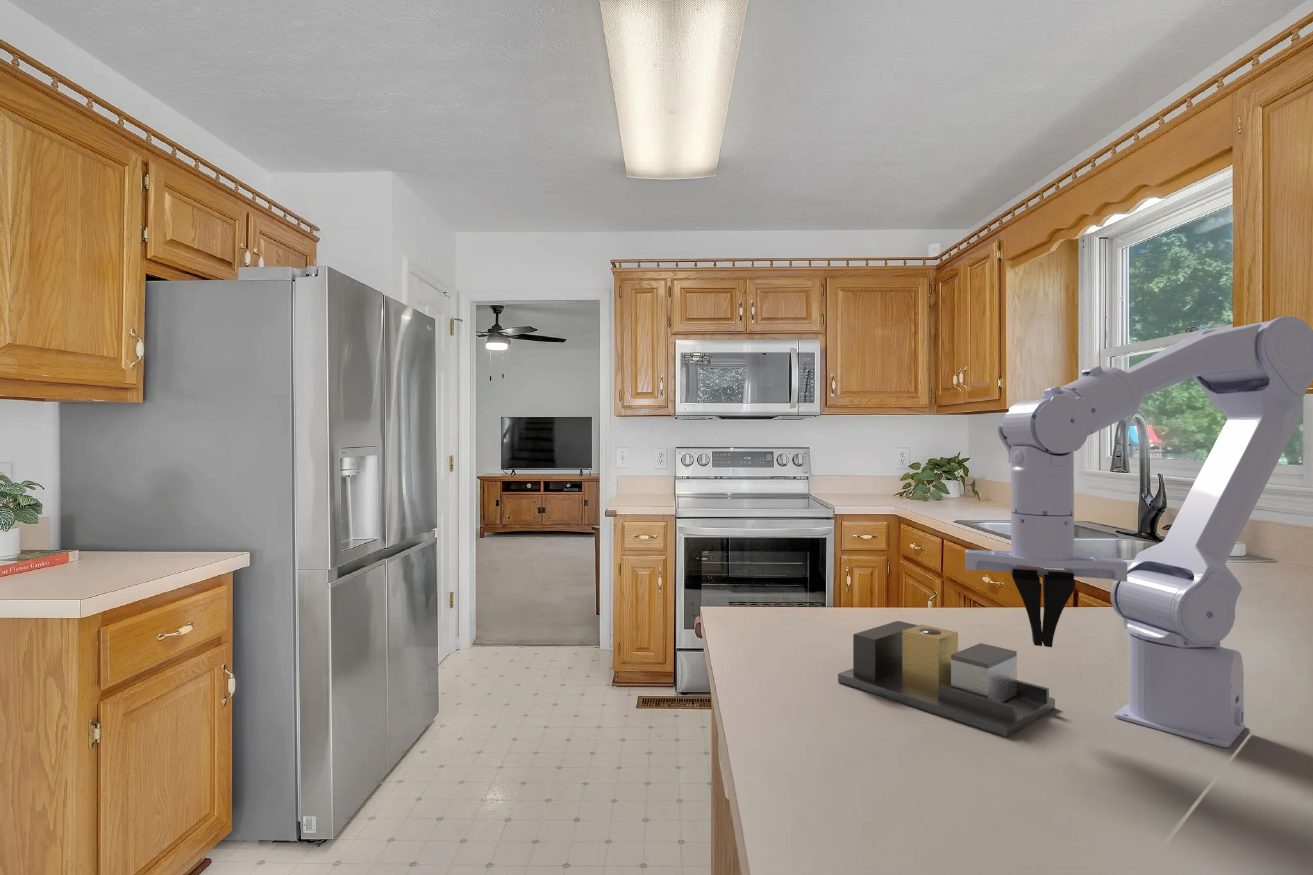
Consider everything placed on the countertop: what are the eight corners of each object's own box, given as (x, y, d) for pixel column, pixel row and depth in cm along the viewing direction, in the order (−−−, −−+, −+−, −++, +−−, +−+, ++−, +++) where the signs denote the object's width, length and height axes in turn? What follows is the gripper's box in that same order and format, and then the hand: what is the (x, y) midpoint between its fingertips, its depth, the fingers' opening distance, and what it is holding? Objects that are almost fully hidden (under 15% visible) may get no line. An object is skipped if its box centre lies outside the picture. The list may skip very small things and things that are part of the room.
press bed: (1054, 707, 74) (1054, 653, 74) (1007, 737, 67) (1006, 676, 67) (891, 661, 90) (891, 617, 90) (838, 681, 82) (838, 632, 82)
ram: (1016, 694, 75) (1016, 651, 75) (988, 709, 71) (987, 664, 71) (980, 684, 78) (980, 642, 78) (951, 698, 74) (951, 654, 74)
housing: (957, 683, 79) (957, 632, 79) (938, 692, 76) (938, 638, 76) (922, 673, 82) (921, 624, 82) (902, 681, 80) (902, 630, 80)
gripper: (1116, 513, 71) (1117, 642, 70) (965, 507, 77) (965, 626, 76) (1132, 519, 64) (1132, 661, 64) (965, 512, 70) (965, 642, 70)
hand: (1042, 643), depth 70 cm, fingers closed
